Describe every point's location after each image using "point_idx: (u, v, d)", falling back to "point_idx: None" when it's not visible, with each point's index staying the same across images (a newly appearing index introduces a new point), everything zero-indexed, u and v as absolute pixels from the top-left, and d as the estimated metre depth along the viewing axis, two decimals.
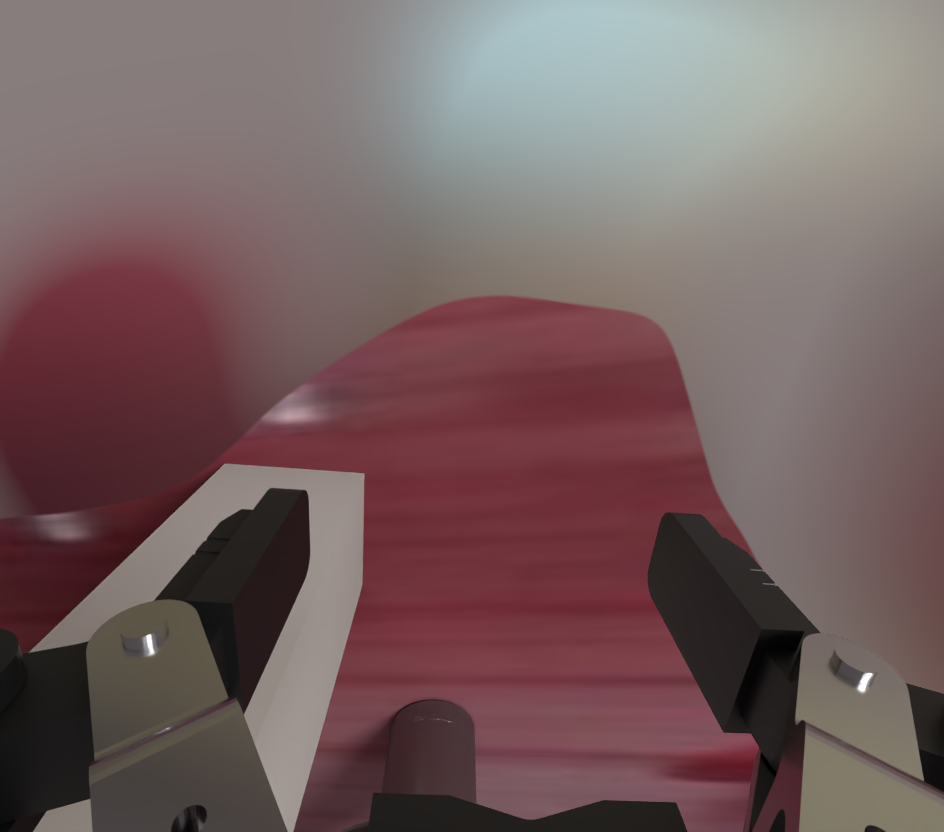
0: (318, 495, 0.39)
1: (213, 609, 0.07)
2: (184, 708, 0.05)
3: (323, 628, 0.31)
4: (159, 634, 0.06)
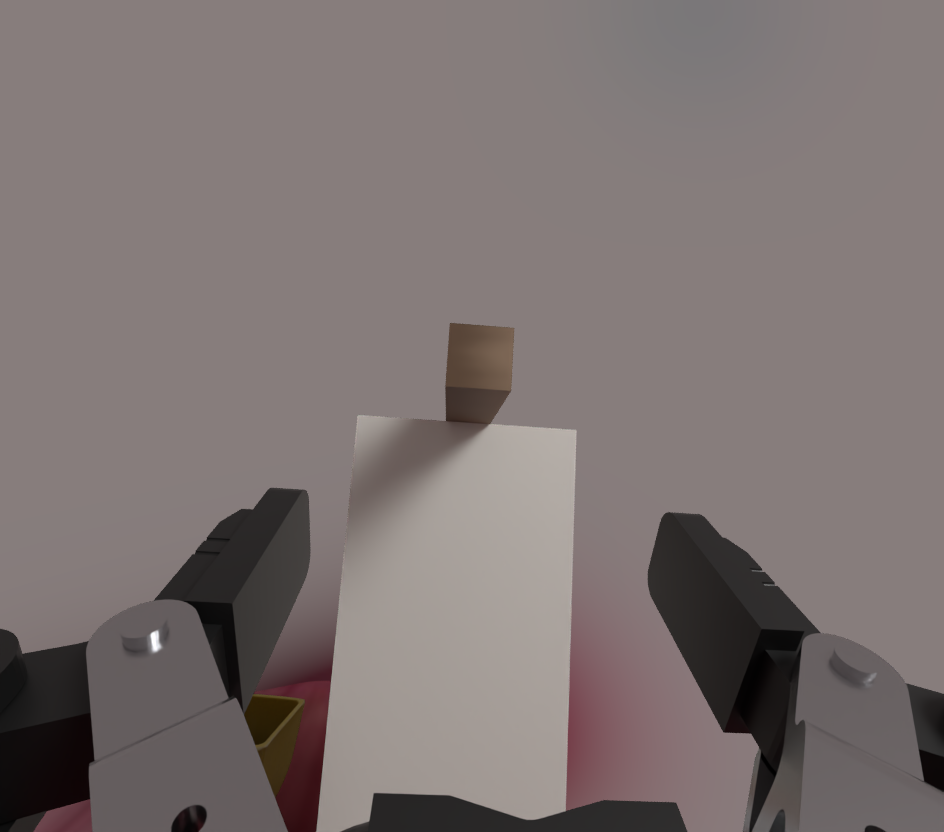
0: None
1: (213, 609, 0.07)
2: (184, 708, 0.05)
3: (484, 790, 0.24)
4: (159, 634, 0.06)
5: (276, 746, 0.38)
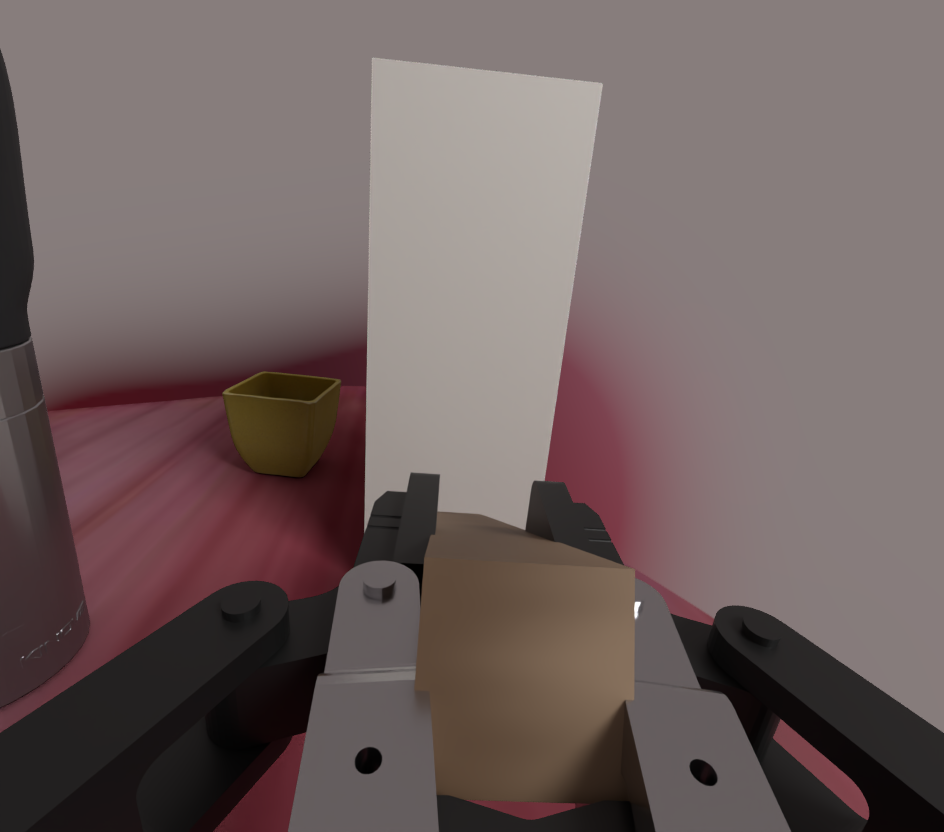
0: None
1: (415, 570, 0.08)
2: (390, 661, 0.06)
3: (491, 406, 0.31)
4: (388, 591, 0.07)
5: (323, 406, 0.47)
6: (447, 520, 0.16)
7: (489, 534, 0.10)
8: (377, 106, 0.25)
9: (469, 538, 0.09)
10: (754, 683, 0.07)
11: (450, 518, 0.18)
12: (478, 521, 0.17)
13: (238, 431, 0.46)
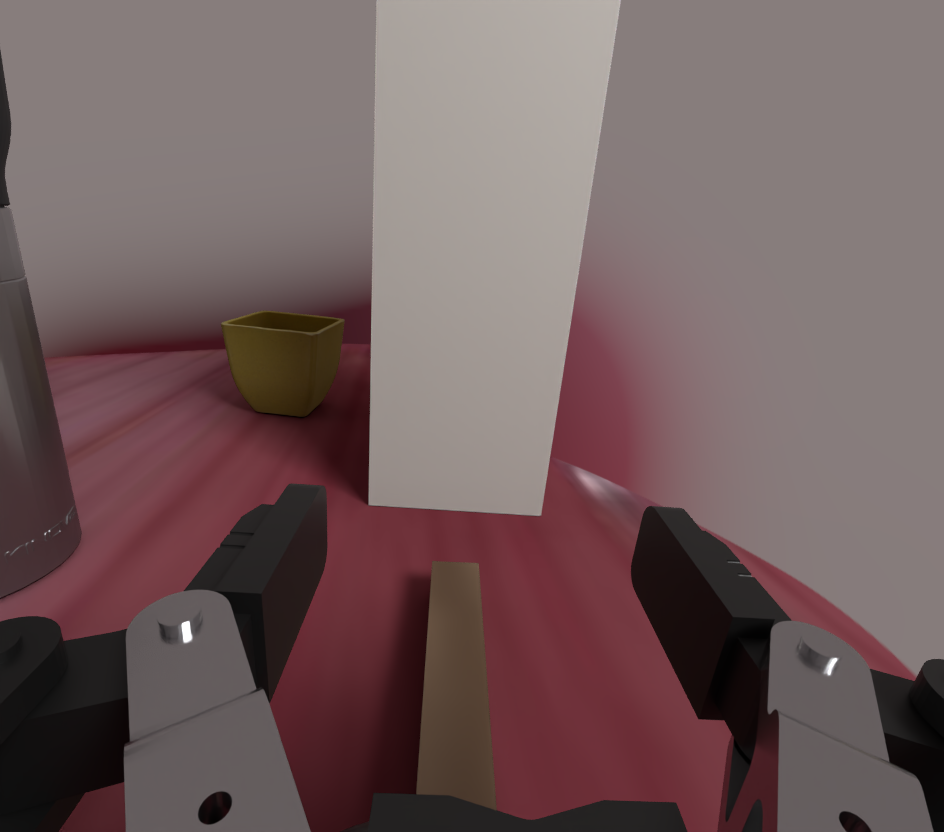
0: None
1: (243, 599, 0.07)
2: (214, 696, 0.05)
3: (504, 311, 0.29)
4: (194, 624, 0.06)
5: (325, 341, 0.46)
6: None
7: None
8: None
9: None
10: None
11: (436, 743, 0.16)
12: (464, 780, 0.15)
13: (238, 365, 0.44)
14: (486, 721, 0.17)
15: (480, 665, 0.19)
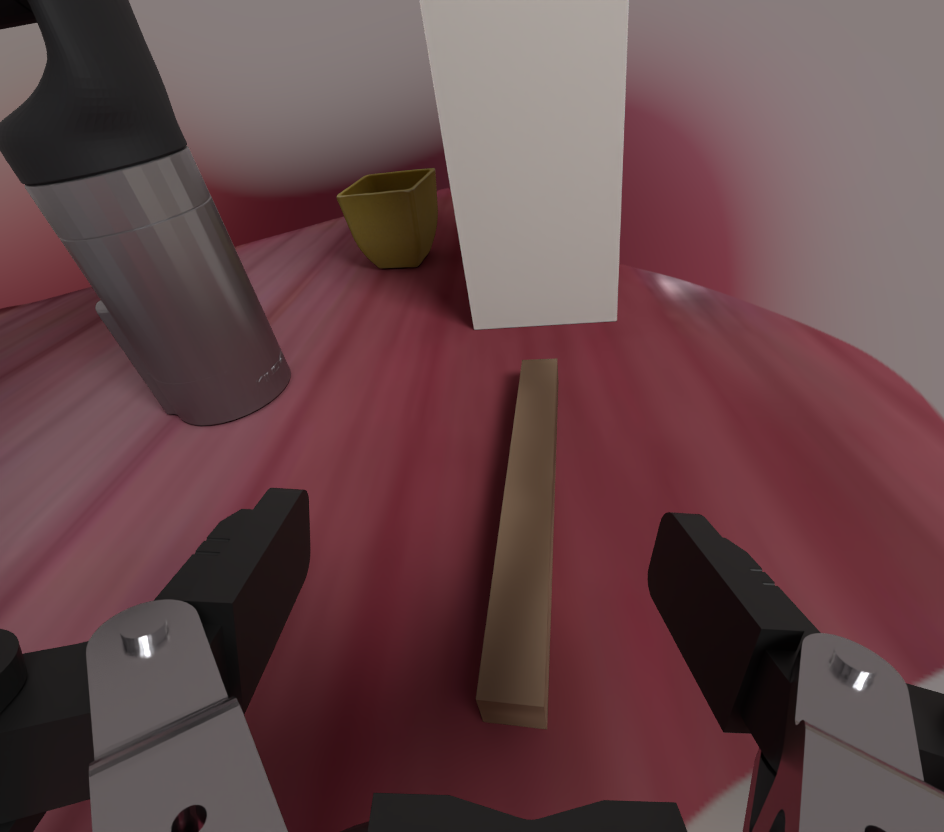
0: None
1: (213, 609, 0.07)
2: (184, 708, 0.05)
3: (560, 138, 0.32)
4: (159, 635, 0.06)
5: (421, 194, 0.51)
6: (513, 482, 0.25)
7: (519, 583, 0.21)
8: None
9: (504, 615, 0.20)
10: None
11: (518, 456, 0.26)
12: (534, 472, 0.25)
13: (357, 231, 0.53)
14: (551, 446, 0.27)
15: (551, 418, 0.29)
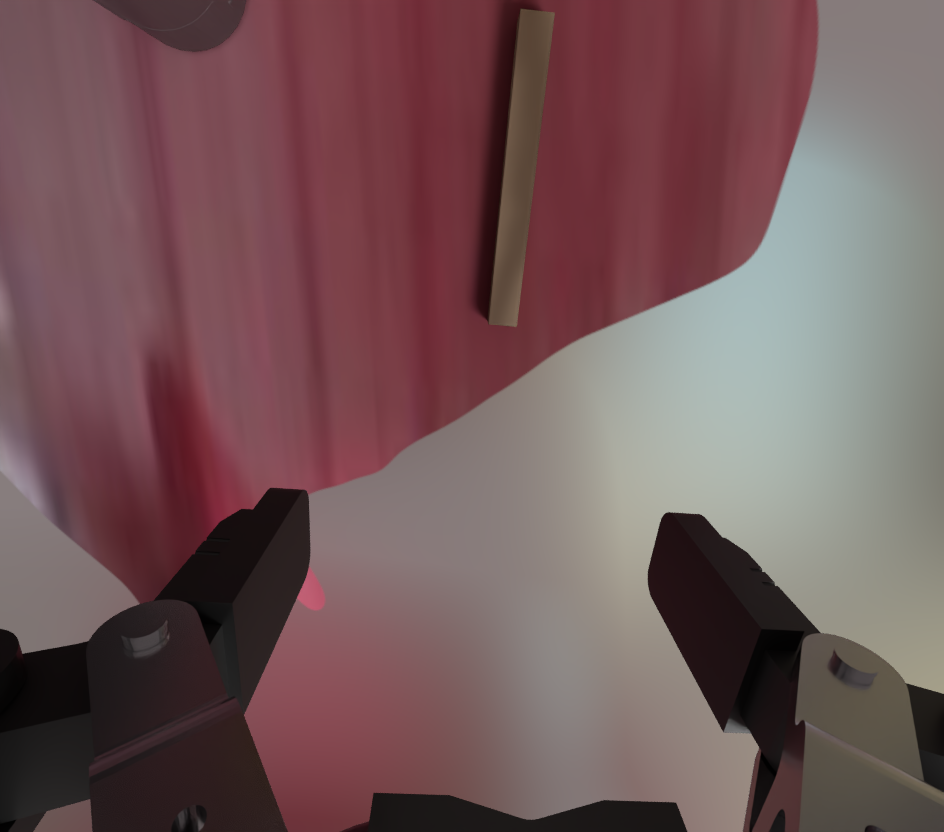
0: None
1: (213, 609, 0.07)
2: (184, 708, 0.05)
3: None
4: (159, 635, 0.06)
5: None
6: (507, 190, 0.38)
7: (508, 268, 0.40)
8: None
9: (500, 286, 0.40)
10: None
11: (512, 163, 0.37)
12: (522, 181, 0.38)
13: None
14: (535, 153, 0.37)
15: (538, 118, 0.36)
